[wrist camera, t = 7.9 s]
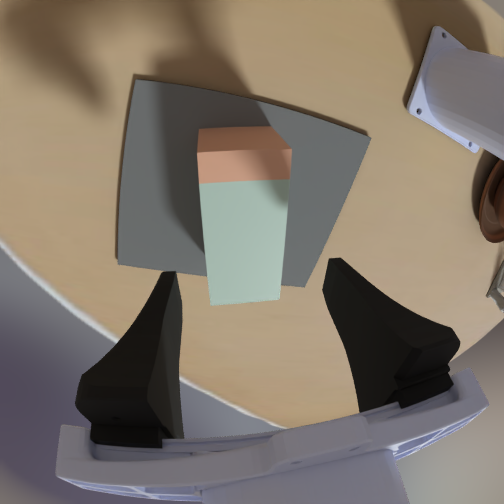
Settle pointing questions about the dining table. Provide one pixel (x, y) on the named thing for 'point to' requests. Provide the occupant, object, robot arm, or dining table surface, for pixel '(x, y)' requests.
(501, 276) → the skyscraper
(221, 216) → the green and orange block
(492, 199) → the cup and saucer
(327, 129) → the rubber mat
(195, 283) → the dining table surface
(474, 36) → the dining table surface
